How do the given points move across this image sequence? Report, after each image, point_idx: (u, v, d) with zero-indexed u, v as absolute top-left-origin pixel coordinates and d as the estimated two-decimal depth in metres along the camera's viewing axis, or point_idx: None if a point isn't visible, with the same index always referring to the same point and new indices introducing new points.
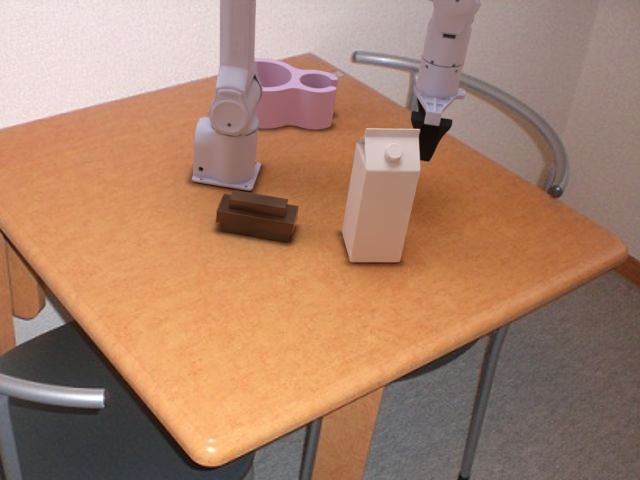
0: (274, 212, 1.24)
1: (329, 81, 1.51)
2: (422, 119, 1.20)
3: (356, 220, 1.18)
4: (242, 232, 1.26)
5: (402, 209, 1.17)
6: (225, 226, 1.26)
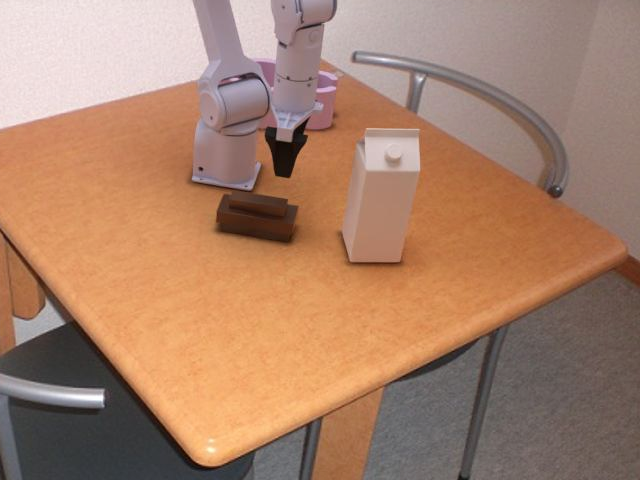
0: (274, 212, 1.24)
1: (329, 81, 1.51)
2: (276, 135, 1.15)
3: (356, 220, 1.18)
4: (242, 232, 1.26)
5: (402, 209, 1.17)
6: (225, 226, 1.26)
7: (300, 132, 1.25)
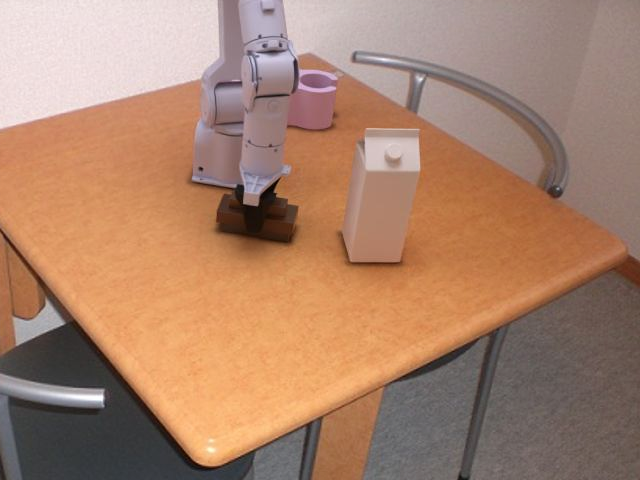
0: (274, 212, 1.24)
1: (329, 81, 1.51)
2: None
3: (356, 220, 1.18)
4: (242, 232, 1.26)
5: (402, 209, 1.17)
6: (225, 226, 1.26)
7: None
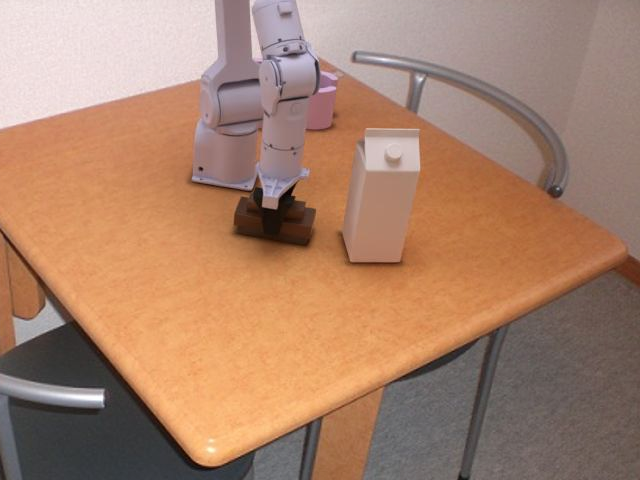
0: (292, 215, 1.23)
1: (329, 81, 1.51)
2: None
3: (356, 220, 1.18)
4: (260, 235, 1.25)
5: (402, 209, 1.17)
6: (243, 229, 1.25)
7: None
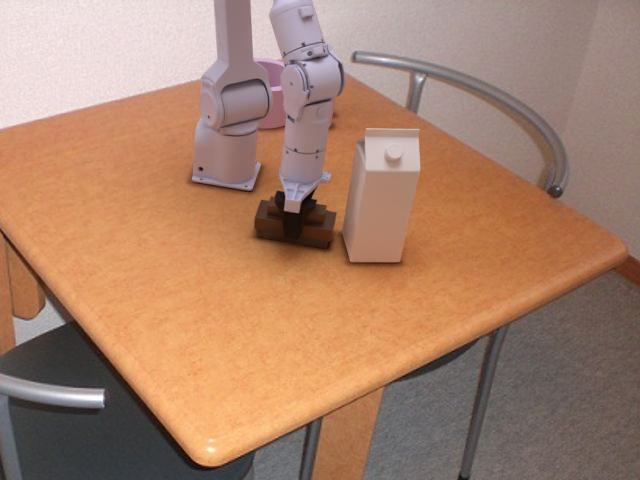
0: (313, 218, 1.23)
1: None
2: None
3: (356, 220, 1.18)
4: (280, 238, 1.25)
5: (402, 209, 1.17)
6: (263, 232, 1.25)
7: None
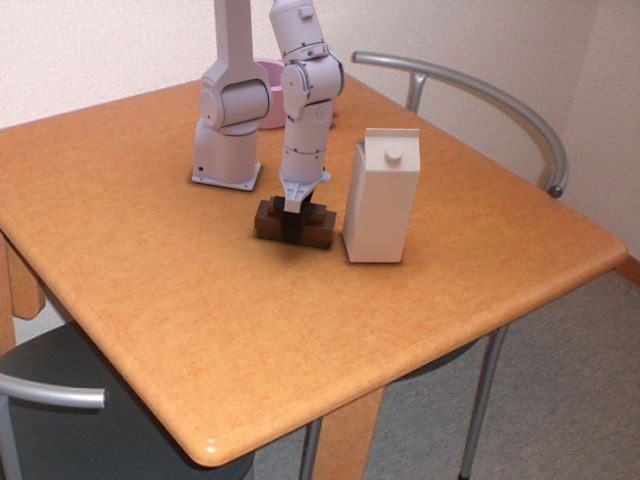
0: (313, 218, 1.23)
1: None
2: (284, 205, 1.17)
3: (356, 220, 1.18)
4: (280, 238, 1.25)
5: (402, 209, 1.17)
6: (263, 232, 1.25)
7: (308, 197, 1.27)
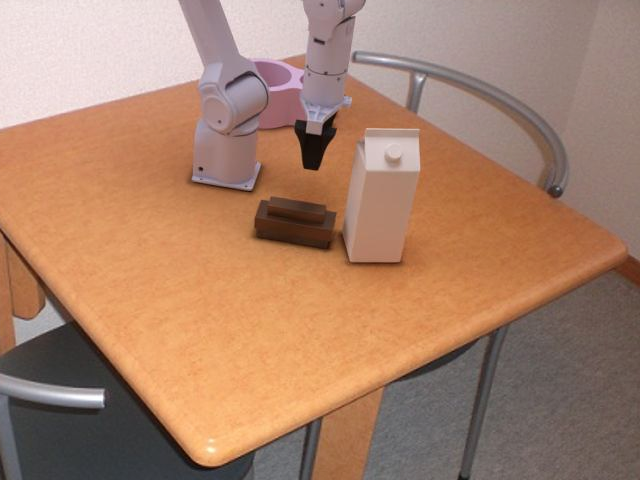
0: (313, 218, 1.23)
1: None
2: (306, 128, 1.17)
3: (356, 220, 1.18)
4: (280, 238, 1.25)
5: (402, 209, 1.17)
6: (263, 232, 1.25)
7: (328, 126, 1.27)
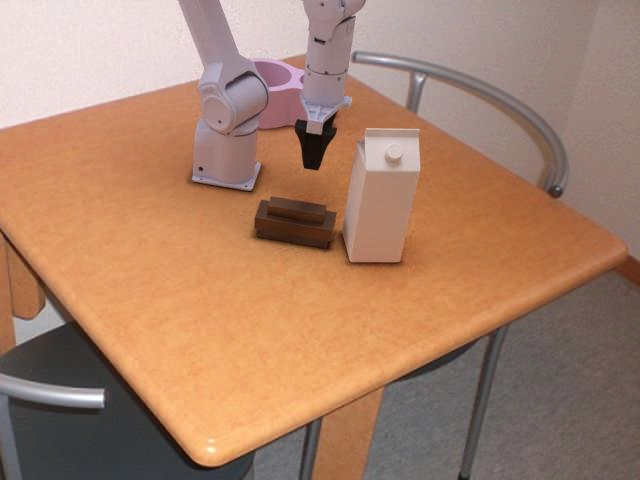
0: (313, 218, 1.23)
1: None
2: (306, 127, 1.17)
3: (356, 220, 1.18)
4: (280, 238, 1.25)
5: (402, 209, 1.17)
6: (263, 232, 1.25)
7: (328, 125, 1.27)
